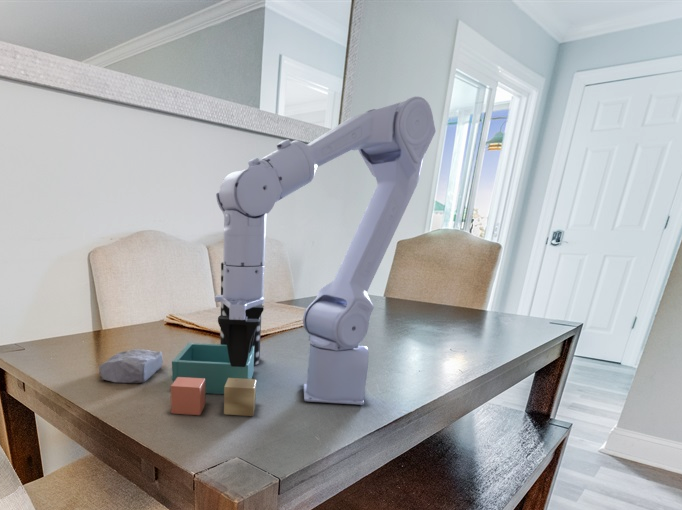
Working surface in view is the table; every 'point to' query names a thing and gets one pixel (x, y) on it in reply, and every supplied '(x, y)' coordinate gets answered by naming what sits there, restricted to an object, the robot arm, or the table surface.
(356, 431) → the table surface
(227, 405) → the maple block
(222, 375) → the teal storage bin
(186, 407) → the coral block
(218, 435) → the table surface
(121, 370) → the stone block
